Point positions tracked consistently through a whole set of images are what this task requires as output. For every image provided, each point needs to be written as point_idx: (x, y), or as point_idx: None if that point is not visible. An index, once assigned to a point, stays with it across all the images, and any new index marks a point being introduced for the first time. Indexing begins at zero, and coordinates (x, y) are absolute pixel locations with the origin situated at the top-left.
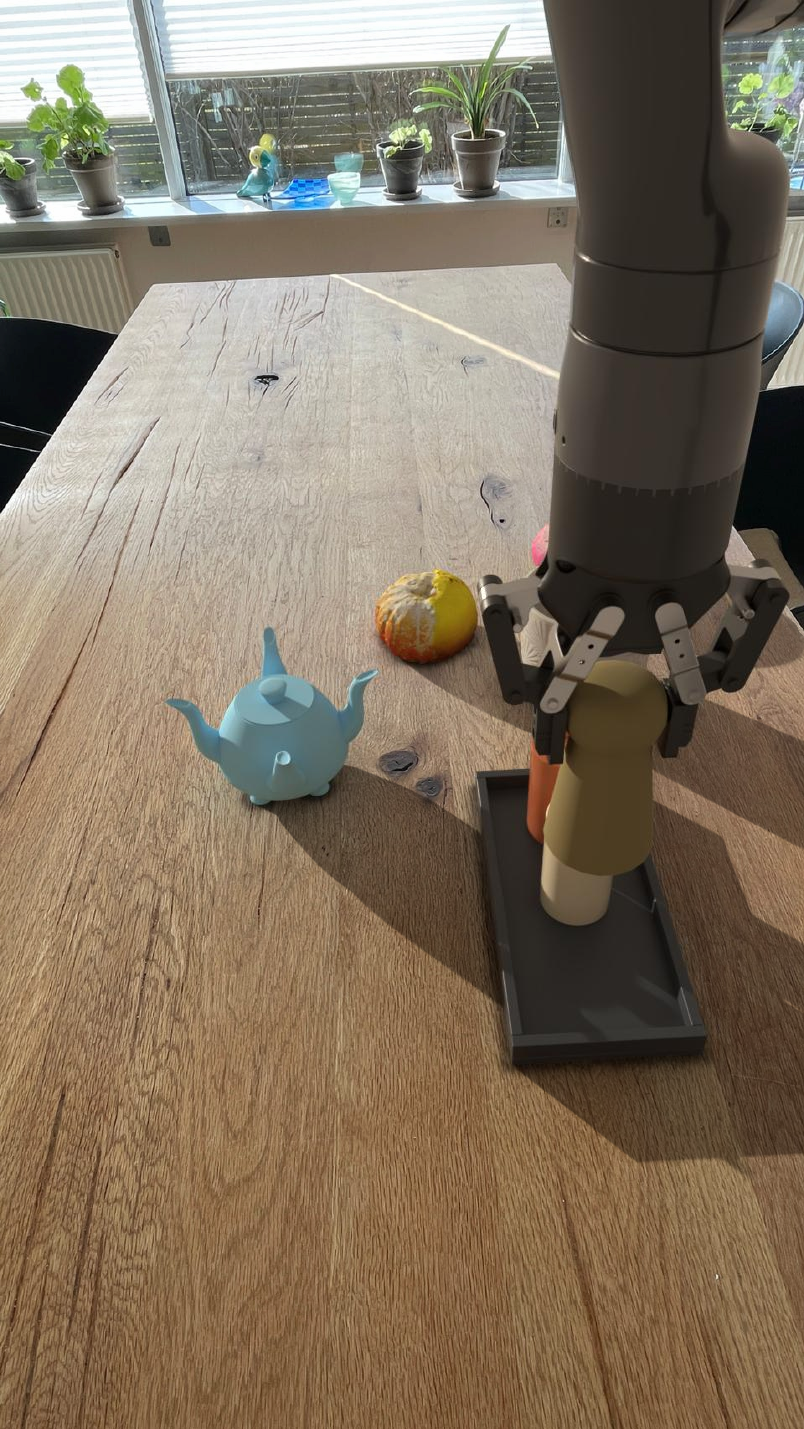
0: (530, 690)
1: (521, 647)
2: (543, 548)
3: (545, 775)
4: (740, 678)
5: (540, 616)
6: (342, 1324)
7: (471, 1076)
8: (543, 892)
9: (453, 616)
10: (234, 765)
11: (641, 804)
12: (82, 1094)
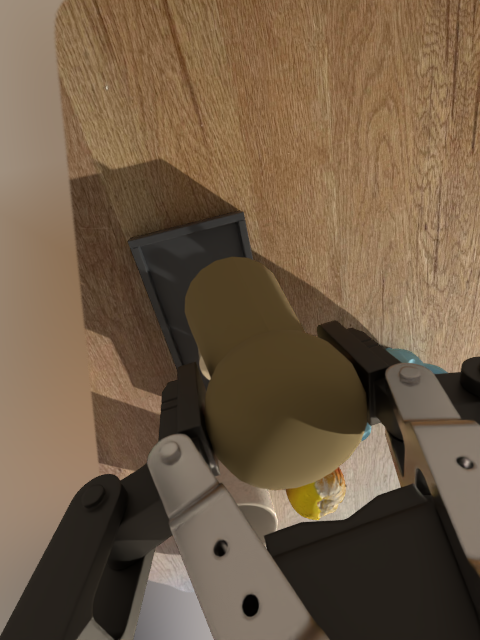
0: (456, 390)
1: None
2: None
3: None
4: (79, 512)
5: (264, 506)
6: (317, 24)
7: (261, 198)
8: None
9: (304, 491)
10: (419, 361)
11: (209, 311)
12: (463, 149)
